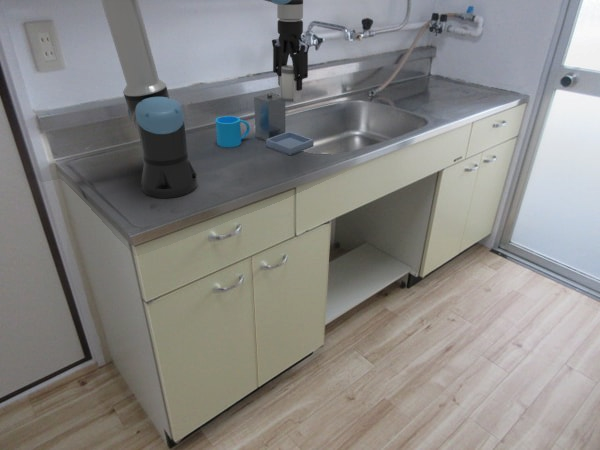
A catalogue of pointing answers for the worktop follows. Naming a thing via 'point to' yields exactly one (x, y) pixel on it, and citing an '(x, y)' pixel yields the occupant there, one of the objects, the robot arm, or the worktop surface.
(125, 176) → the worktop surface
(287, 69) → the cylinder
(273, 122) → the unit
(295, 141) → the tray
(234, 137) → the mug
